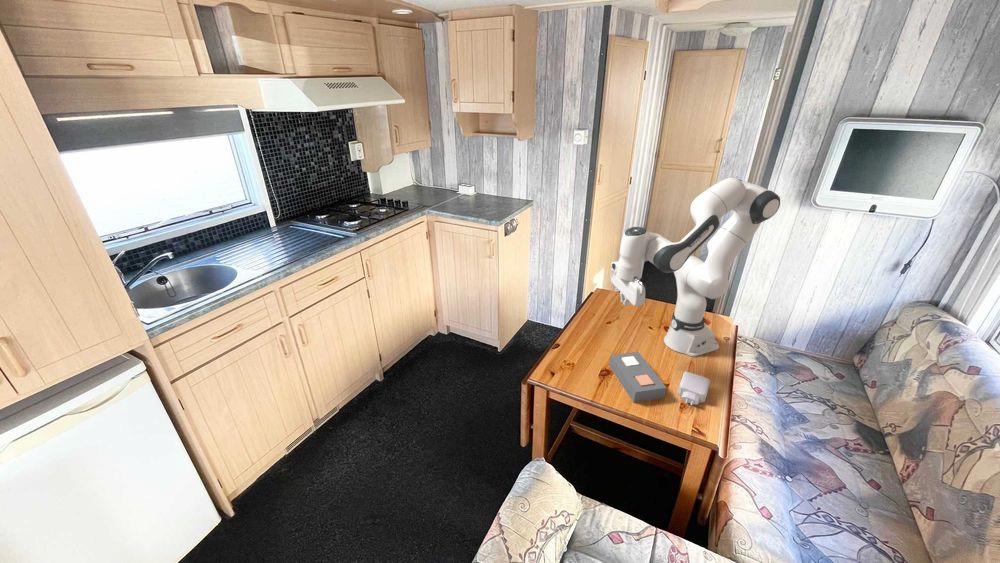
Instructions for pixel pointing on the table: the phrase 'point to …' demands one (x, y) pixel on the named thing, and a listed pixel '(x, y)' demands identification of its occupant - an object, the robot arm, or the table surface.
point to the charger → (693, 388)
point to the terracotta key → (644, 380)
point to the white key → (630, 361)
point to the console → (629, 382)
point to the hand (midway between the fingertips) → (624, 303)
